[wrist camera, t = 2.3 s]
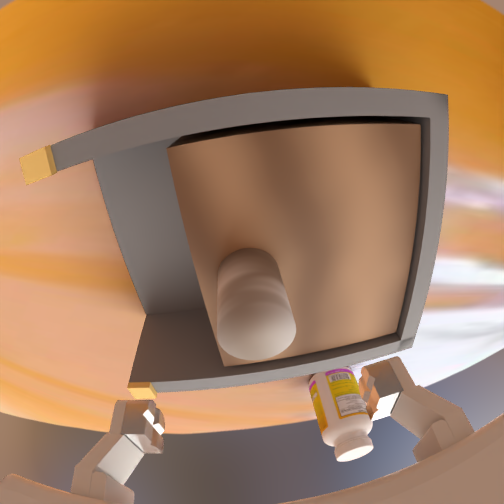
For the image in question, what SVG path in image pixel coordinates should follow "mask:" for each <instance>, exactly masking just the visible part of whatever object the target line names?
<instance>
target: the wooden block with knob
mask: <svg viewBox="0 0 504 504" xmlns="http://www.w3.org/2000/svg"><path fill="white" fill-rule="evenodd" d="M166 149H167V154H168V159H169V164H170V168H171V173H172V177H173V182H174V186H175V191H176V195H177V199H178V204H179V208H180V212H181V216H182V220H183V224H184V228H185V232H186V236H187V240H188V244H189V248H190V252H191V256H192V259H193V263H194V267H195V271H196V274H197V278H198V281H199V285H200V289H201V292H202V296H203V299H204V302H205V306H206V309H207V313H208V316H209V319H210V323H211V326H212V329H213V333H214V336H215V339H216V342H217V345H218V349H219V352H220V355H221V358H222V361H223V364H224V367H226V366H234V365H241V364H249V363H256V362H262V361H269V360H275V359H281V358H286V357H292V356H297V355H303V354H308V353H313V352H318V351H322V350H327V349H332V348H336V347H340V346H345V345H349V344H353V343H357V342H361V341H365V340H369V339H373V338H377V337H380V336H384V335H388V334H391V333H395V332H396V330H397V326H398V322H399V318H400V314H401V309H402V305H403V300H404V295H405V290H406V285H407V280H408V275H409V269H410V263H411V257H412V250H413V243H414V236H415V228H416V219H417V209H418V197H419V183H420V160H421V125H420V124H416V123H412V122H407V121H403V120H398V119H393V118H388V117H382V116H338V117H319V118H304V119H292V120H282V121H272V122H264V123H256V124H248V125H241V126H234V127H228V128H222V129H216V130H210V131H205V132H199V133H194V134H189V135H184V136H181V137H180V138H179V139H177V140H176V141H175V142H174V143H172V144H171V145H170V146H169V147H167V148H166Z"/></svg>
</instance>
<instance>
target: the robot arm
mask: <svg viewBox="0 0 504 504" xmlns="http://www.w3.org/2000/svg"><path fill="white" fill-rule="evenodd" d="M361 374H362V377H361V378H360V379H359V392H360V395H361V398H362V400H364V401H365V402H367V406H366V410H367V413H368V415H369V418H370V420H371V421H373V420H377V419H380V418H383V417H386V416H389V415H390V417H392V418H393V419H394V420H396V421H397V422H398V423H400V424H401V425H402V426H404V427H405V428H406V429H408V430H409V431H410V432H412V433H413V434H415V435H416V436H417V437H418V438H420V439H421V440H420V441H419V442H418V444H417V445H416V446H415V447H414V449H413V453H414V456H415V458H416V460H417V463H416V464H414V465H411V466H409V467H406V468H404V469H401V470H399V471H397V472H394V473H391V474H389V475H386V476H384V477H381V478H378V479H375V480H372V481H370V482H367V483H363V484H361V485H357V486H354V487H351V488H348V489H344V490H340V491H337V492H333V493H329V494H325V495H320V496H316V497H312V498H307V499H302V500H297V501H292V502H285V503H280V504H504V413H503V414H501V415H500V416H498V417H497V418H495V419H494V420H493V421H491V422H490V423H488V424H487V425H485V426H484V427H482V428H480V429H479V430H477V431H476V432H474V430H473V428H472V426H471V424H470V422H469V421H468V419H467V417H466V415H465V413H464V412H463V410H462V408H460V407H458V406H456V405H454V404H452V403H451V402H449V401H447V400H445V399H443V398H442V397H440V396H438V395H436V394H434V393H432V392H430V391H429V390H427V389H425V388H423V387H421V386H420V385H418V386H416V385H415V384H414V382H413V380H412V378H411V376H410V375H409V373H408V371H407V369H406V368H405V366H404V364H403V363H402V361H401V359H400V358H399V357H398V356H396V357H393V358H390V359H387V360H383V361H380V362H377V363H374V364H370V365H367V366H364V367H363V368H362V370H361ZM164 430H165V422H164V417H163V414H162V412H161V411H160V410H159V409H157V408H156V404H155V403H154V401H153V400H117V402H116V404H115V407H114V412H113V417H112V421H111V426H110V431H109V433H107V434H105V435H104V436H103V437H102V438H101V440H100V441H99V442H98V443H97V444H96V445H95V446H94V447H93V448H92V449H91V450H90V451H89V452H88V454H87V455H86V456H85V457H84V458H83V459H82V460H81V461H80V462H79V463H78V464H77V465H76V466H75V470H74V475H73V481H72V486H71V492H70V493H69V492H66V491H62V490H59V489H55V488H52V487H48V486H46V485H43V484H40V483H37V482H34V481H31V480H29V479H26V478H23V477H21V476H18V475H16V474H9V475H8V476H6V477H4V478H3V479H2V480H1V481H0V504H134V492H133V491H132V490H131V489H129V488H127V487H126V486H124V483H125V482H126V480H127V479H128V477H129V476H130V474H131V473H132V471H133V470H134V469H135V467H136V466H137V464H138V463H139V461H140V460H141V458H142V457H143V455H144V453H163V443H164V439H163V438H162V436H161V434H162V433H163V431H164Z"/></svg>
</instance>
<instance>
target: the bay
mask: <svg viewBox="0 0 504 504" xmlns="http://www.w3.org/2000/svg"><path fill="white" fill-rule="evenodd" d="M338 116H382V117H388V118H393V119H398V120H403V121H407V122H412V123H416V124H420V125H421V160H420V183H419V197H418V209H417V219H416V228H415V236H414V243H413V250H412V257H411V263H410V269H409V275H408V280H407V285H406V290H405V295H404V300H403V305H402V309H401V314H400V318H399V322H398V326H397V330H396V332H395V333H391V334H388V335H384V336H380V337H377V338H373V339H369V340H365V341H361V342H357V343H353V344H349V345H345V346H340V347H336V348H332V349H327V350H322V351H318V352H313V353H308V354H303V355H297V356H292V357H286V358H281V359H275V360H269V361H262V362H256V363H249V364H241V365H234V366H226V367H224V364H223V361H222V358H221V355H220V352H219V349H218V345H217V342H216V339H215V336H214V333H213V329H212V326H211V323H210V319H209V316H208V313H207V309H206V306H205V302H204V299H203V296H202V292H201V289H200V285H199V281H198V278H197V274H196V271H195V267H194V263H193V259H192V256H191V252H190V248H189V244H188V240H187V236H186V232H185V228H184V224H183V220H182V216H181V212H180V208H179V204H178V199H177V195H176V191H175V186H174V182H173V177H172V173H171V168H170V164H169V159H168V154H167V149H166V148H167V147H169V146H170V145H171V144H172V143H174V142H175V141H176V140H177V139H179V138H180V137H181V136H184V135H189V134H194V133H199V132H205V131H210V130H216V129H222V128H228V127H234V126H241V125H248V124H256V123H264V122H272V121H282V120H292V119H304V118H319V117H338ZM448 140H449V118H448V95H446V94H439V93H431V92H423V91H414V90H402V89H388V88H367V87H322V88H300V89H285V90H274V91H264V92H255V93H247V94H239V95H232V96H226V97H219V98H213V99H208V100H202V101H197V102H192V103H187V104H182V105H178V106H173V107H169V108H165V109H160V110H156V111H152V112H149V113H145V114H141V115H137V116H134V117H130V118H127V119H123V120H120V121H117V122H114V123H111V124H107V125H104V126H101V127H98V128H95V129H92V130H90V131H87V132H84V133H81V134H79V135H76V136H73V137H71V138H68V139H65V140H63V141H60V142H58V143H56V144H53V145H51V146H50V145H48V146H46V147H43V148H41V149H39V150H36V151H34V152H32V153H30V154H28V155H26V156H23V157H21V158H19V160H20V164H21V168H22V171H23V175H24V179H25V182H26V185H29V184H31V183H34V182H36V181H39V180H41V179H44V178H46V177H49V176H52V175H53V174H55V173H57V171H60V170H63V169H65V168H68V167H71V166H74V165H77V164H80V163H83V162H86V161H89V160H92V159H93V161H94V165H95V169H96V173H97V177H98V180H99V184H100V187H101V191H102V194H103V198H104V201H105V204H106V208H107V211H108V214H109V217H110V220H111V223H112V226H113V230H114V232H115V235H116V238H117V241H118V244H119V247H120V250H121V252H122V255H123V258H124V261H125V263H126V266H127V269H128V271H129V274H130V276H131V279H132V281H133V284H134V286H135V289H136V291H137V294H138V296H139V299H140V301H141V303H142V306H143V308H144V310H145V313H146V319H145V322H144V326H143V330H142V333H141V337H140V340H139V344H138V348H137V352H136V356H135V360H134V363H133V367H132V372H131V376H130V380H129V383H128V387H127V388H128V390H129V391H130V393H131V394H132V395H133V397H134V398H135V399H154V398H156V397H157V392H178V391H194V390H206V389H217V388H226V387H235V386H243V385H250V384H257V383H264V382H271V381H277V380H283V379H288V378H294V377H299V376H304V375H309V374H314V373H319V372H324V371H328V370H332V369H337V368H341V367H345V366H349V365H353V364H357V363H361V362H365V361H368V360H372V359H376V358H379V357H383V356H386V355H389V354H393V353H396V352H399V351H402V350H405V349H408V348H412V345H413V342H414V339H415V336H416V333H417V329H418V326H419V323H420V319H421V316H422V313H423V309H424V305H425V302H426V298H427V294H428V290H429V286H430V282H431V277H432V273H433V268H434V264H435V259H436V254H437V248H438V243H439V237H440V231H441V224H442V217H443V209H444V201H445V191H446V180H447V166H448Z"/></svg>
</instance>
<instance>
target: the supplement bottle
mask: <svg viewBox="0 0 504 504" xmlns="http://www.w3.org/2000/svg"><path fill="white" fill-rule="evenodd" d="M309 390H310V394H311V398H312V401H313V405H314V409H315V412H316V416H317V420H318V424H319V427H320V431H321V435H322V438H323V441H324V442H325V443H326V444H327V445H330V446H335V456H336V459H337V461H349V460H353V459H356V458H359V457H361V456H363V455H365V454H367V453H368V452H370V451H371V450H372V449H373V444H372V441H371V439H370V438H369V437H368V435H367V434H368V433H369V432H370V430H371V429H372V425H373V422H372V421H371V420H370V418H369V415H368V413H367V410H366V403H365V401H364V400H362V398H361V395H360V392H359V386H358V383H357V381H356V379H355V376H354V374H353V372H352V370H351V369H350V368H348V367H346V366H345V367H341V368H337V369H332V370H328V371H324V372H319V373H316V374H315V375H314V376H313V377H312V378H311V379H310V382H309Z"/></svg>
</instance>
